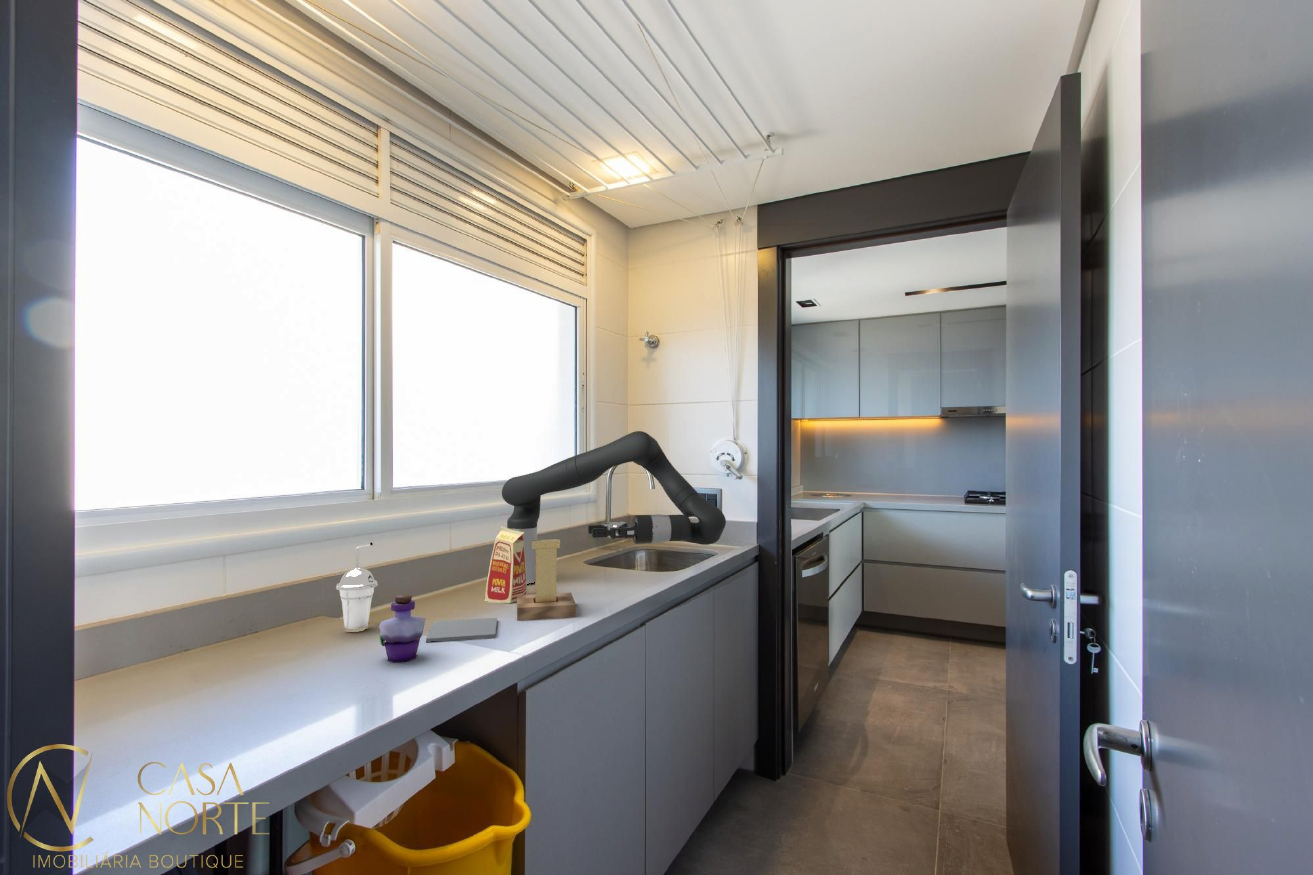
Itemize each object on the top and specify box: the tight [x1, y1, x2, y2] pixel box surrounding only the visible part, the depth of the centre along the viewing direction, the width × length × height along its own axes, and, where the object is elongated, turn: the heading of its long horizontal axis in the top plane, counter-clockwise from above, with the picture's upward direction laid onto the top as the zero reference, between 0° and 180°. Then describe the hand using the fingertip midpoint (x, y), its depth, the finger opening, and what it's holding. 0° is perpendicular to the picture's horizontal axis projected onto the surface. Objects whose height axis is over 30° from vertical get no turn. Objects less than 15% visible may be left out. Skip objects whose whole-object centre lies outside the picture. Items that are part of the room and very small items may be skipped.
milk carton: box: [484, 525, 528, 604], centre depth 165 cm, size 9×9×20 cm
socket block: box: [516, 592, 577, 622], centre depth 150 cm, size 14×14×3 cm
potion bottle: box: [378, 594, 427, 664], centre depth 115 cm, size 9×9×12 cm
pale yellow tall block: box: [532, 538, 561, 603], centre depth 151 cm, size 7×5×18 cm
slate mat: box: [425, 617, 498, 643], centre depth 133 cm, size 14×14×1 cm
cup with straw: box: [335, 541, 379, 629], centre depth 134 cm, size 8×9×20 cm
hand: (590, 531), depth 154 cm, fingers open, 8 cm apart
